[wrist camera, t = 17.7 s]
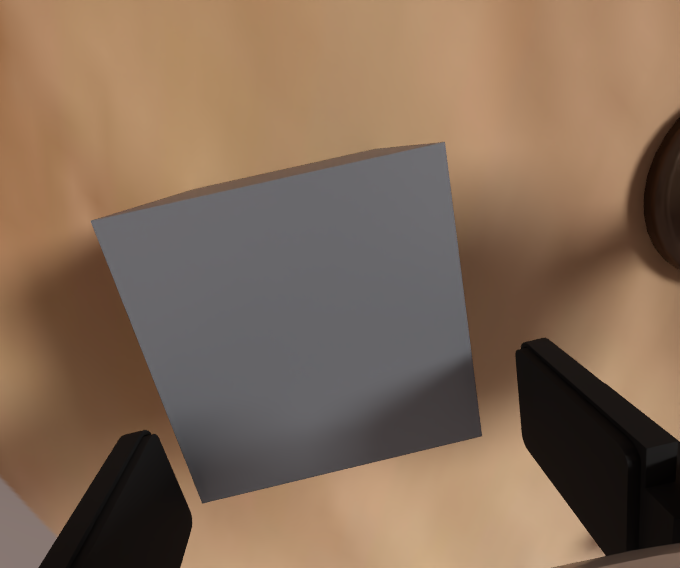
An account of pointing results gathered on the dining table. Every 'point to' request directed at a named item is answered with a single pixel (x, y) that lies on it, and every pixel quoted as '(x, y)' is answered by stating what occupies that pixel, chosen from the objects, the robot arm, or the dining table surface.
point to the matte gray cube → (302, 316)
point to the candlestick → (665, 198)
